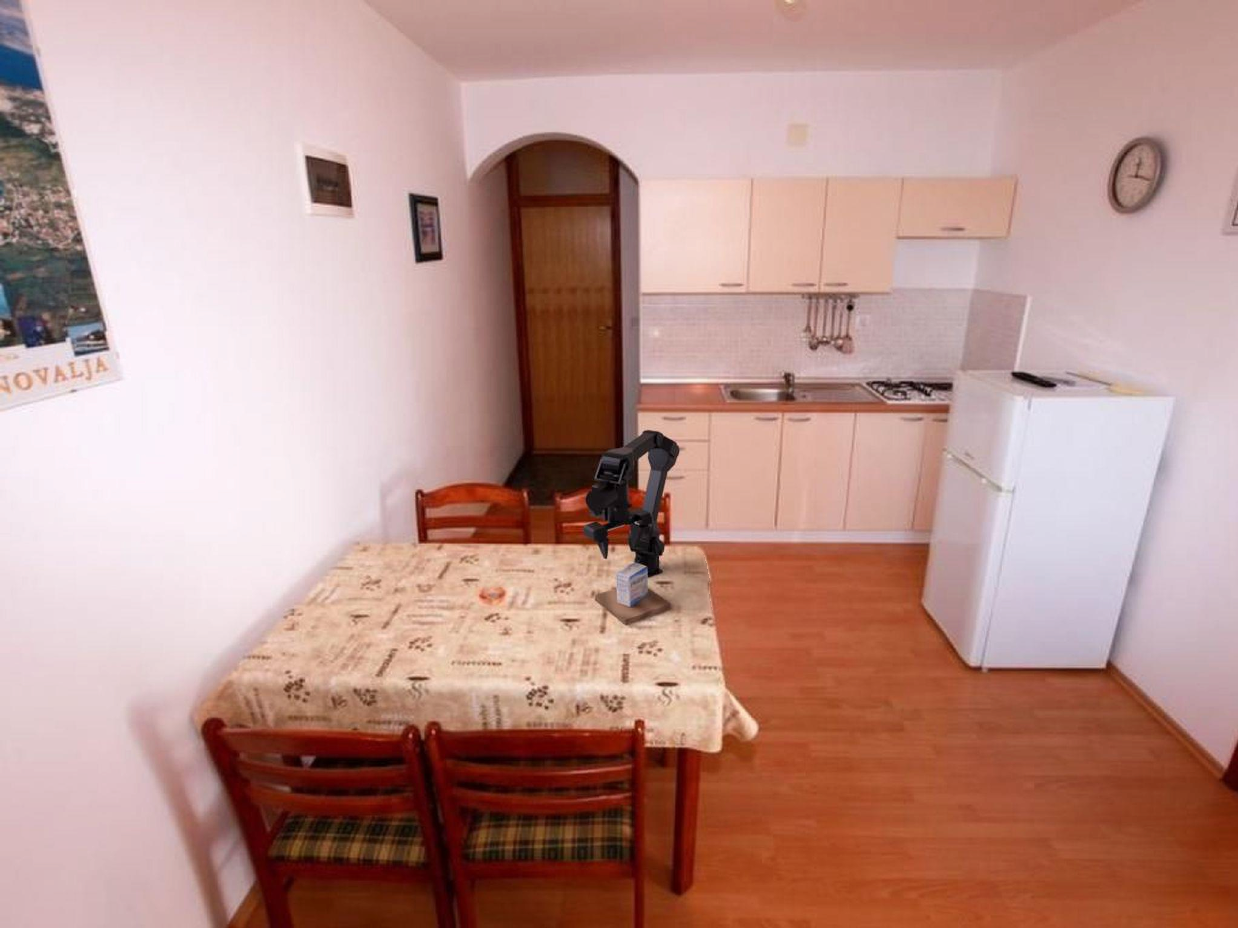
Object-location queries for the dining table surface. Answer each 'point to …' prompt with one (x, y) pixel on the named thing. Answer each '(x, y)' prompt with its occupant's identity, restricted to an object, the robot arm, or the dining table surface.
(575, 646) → the dining table surface
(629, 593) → the medicine box
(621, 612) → the walnut board
